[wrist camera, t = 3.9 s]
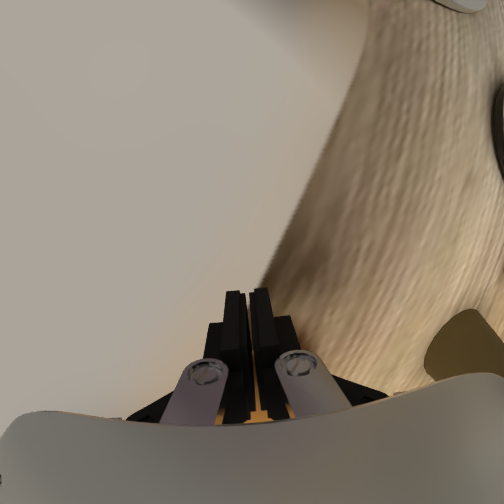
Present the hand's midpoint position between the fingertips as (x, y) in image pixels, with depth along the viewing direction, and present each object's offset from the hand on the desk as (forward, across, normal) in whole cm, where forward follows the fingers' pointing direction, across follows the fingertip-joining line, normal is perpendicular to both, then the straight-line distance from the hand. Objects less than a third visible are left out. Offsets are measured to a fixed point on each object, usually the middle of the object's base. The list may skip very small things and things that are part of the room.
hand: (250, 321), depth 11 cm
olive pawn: (+2, -15, +6) cm, 16 cm away
